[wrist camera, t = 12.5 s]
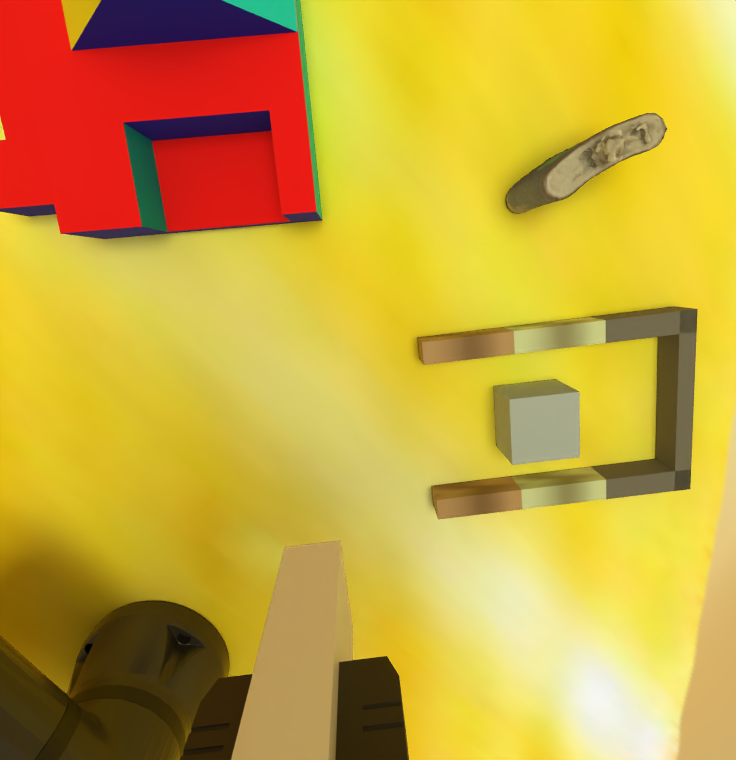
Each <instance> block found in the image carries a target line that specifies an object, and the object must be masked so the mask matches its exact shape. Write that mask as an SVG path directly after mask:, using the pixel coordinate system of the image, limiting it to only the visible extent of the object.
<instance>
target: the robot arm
mask: <svg viewBox="0 0 736 760" xmlns="http://www.w3.org/2000/svg"><path fill="white" fill-rule="evenodd" d="M228 673H229V657H228V652H227V649H226V646H225V644H224V641H223V640H222V638H221V636H220V635H219V633H218V632H217V630H216V629H215V628H214V627H213V626H212V625H211V624H210V623H209V622H208V621H207V620H206V619H204V618H203V617H202V616H200V615H199V614H197V613H195V612H193V611H192V610H189V609H187V608H185V607H182V606H179V605H176V604H172V603H167V602H159V601H146V602H138V603H133V604H129V605H126V606H124V607H121V608H119V609H117V610H115V611H113V612H112V613H110V614H109V615H107V616H106V617H105V618H104V619H103V620H101V621H100V623H99V624H98V625H97V626H96V627H95V629H94V630H93V632H92V633H91V634H90V636H89V637H88V638H87V640H86V641H85V643H84V644H83V646H82V648H81V650H80V652H79V655H78V657H77V661H76V664H75V667H74V671H73V674H72V678H71V681H70V685H69V688H68V692H67V694H66V693H65V692H63V691H62V690H61V689H60V688H59V687H58V686H56V685H55V684H54V683H53V682H52V681H51V680H50V679H48V678H47V677H46V676H45V675H44V674H43V673H42V672H40V671H39V670H38V669H37V668H36V667H35V666H34V665H33V664H32V663H30V662H29V661H28V660H27V659H26V658H25V657H24V656H23V655H22V654H20V653H19V652H18V651H17V650H16V649H15V648H14V647H13V646H12V645H10V644H9V643H8V642H7V641H6V640H5V639H4V638H3V637H2V636H0V760H409V755H408V746H407V737H406V729H405V721H404V712H403V704H402V696H401V688H400V680H399V675H398V673H397V672H396V670H395V669H394V667H393V665H392V664H391V662H390V661H389V659H388V657H387V656H385V657H376V658H368V659H360V660H353V625H352V618H351V611H350V604H349V598H348V591H347V584H346V577H345V570H344V563H343V556H342V550H341V543H340V541H332V542H323V543H315V544H307V545H299V546H290V547H285V548H284V552H283V556H282V560H281V564H280V568H279V572H278V576H277V580H276V584H275V588H274V592H273V596H272V600H271V604H270V608H269V612H268V616H267V620H266V623H265V627H264V631H263V635H262V639H261V643H260V647H259V651H258V655H257V659H256V663H255V667H254V671H253V674H250V675H241V676H233V677H228Z"/></svg>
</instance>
